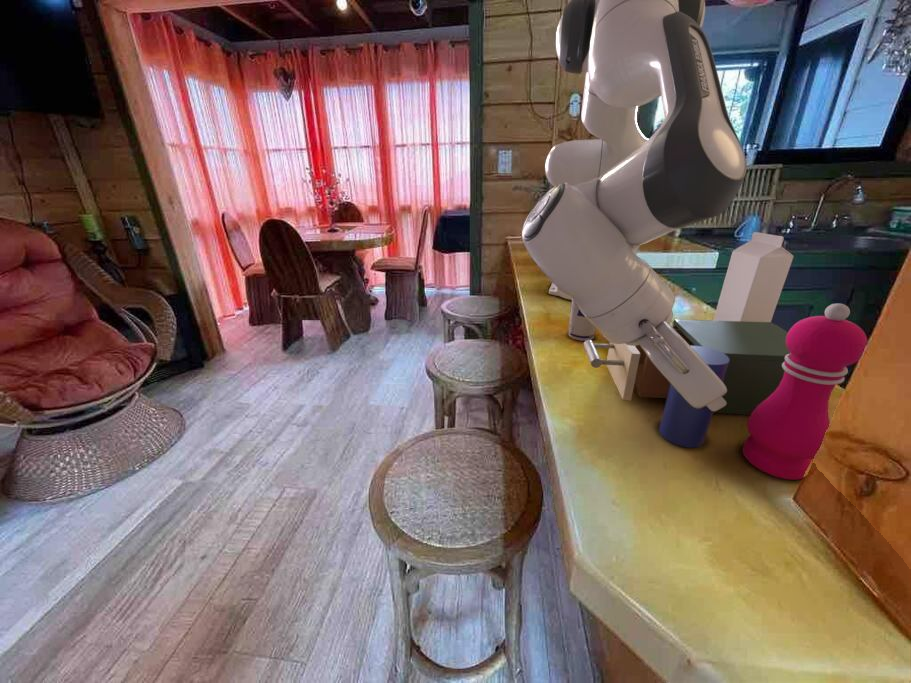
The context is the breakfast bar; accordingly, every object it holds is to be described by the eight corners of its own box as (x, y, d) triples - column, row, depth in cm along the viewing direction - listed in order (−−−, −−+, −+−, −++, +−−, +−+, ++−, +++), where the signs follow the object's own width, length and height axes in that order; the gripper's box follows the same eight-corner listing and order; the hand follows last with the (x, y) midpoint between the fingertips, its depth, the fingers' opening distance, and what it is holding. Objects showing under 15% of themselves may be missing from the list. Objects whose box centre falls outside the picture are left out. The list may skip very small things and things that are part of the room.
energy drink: (595, 342, 77) (604, 285, 72) (569, 340, 78) (575, 284, 73) (592, 332, 82) (600, 278, 77) (567, 330, 83) (573, 277, 78)
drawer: (589, 398, 57) (596, 352, 54) (578, 363, 67) (583, 322, 64) (720, 405, 54) (735, 358, 51) (687, 368, 64) (699, 326, 61)
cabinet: (692, 411, 55) (709, 352, 51) (662, 370, 66) (673, 319, 62) (804, 418, 53) (831, 357, 49) (752, 374, 64) (771, 322, 60)
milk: (728, 360, 69) (766, 237, 59) (705, 346, 74) (736, 232, 65) (759, 358, 69) (801, 236, 60) (733, 344, 75) (769, 230, 65)
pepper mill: (724, 441, 49) (775, 293, 40) (781, 441, 48) (845, 292, 40) (764, 483, 42) (835, 317, 34) (831, 484, 42) (919, 316, 33)
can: (653, 421, 53) (672, 344, 48) (693, 424, 52) (716, 346, 47) (667, 446, 48) (689, 363, 43) (711, 449, 47) (738, 365, 42)
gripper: (692, 323, 33) (777, 420, 36) (629, 268, 52) (688, 335, 54) (631, 364, 36) (715, 452, 39) (592, 298, 54) (650, 361, 57)
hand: (699, 383), depth 47 cm, fingers open, 8 cm apart
